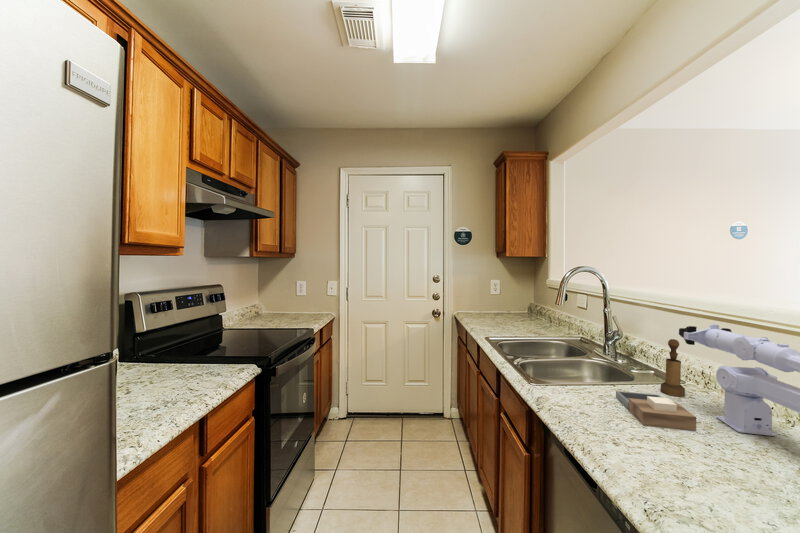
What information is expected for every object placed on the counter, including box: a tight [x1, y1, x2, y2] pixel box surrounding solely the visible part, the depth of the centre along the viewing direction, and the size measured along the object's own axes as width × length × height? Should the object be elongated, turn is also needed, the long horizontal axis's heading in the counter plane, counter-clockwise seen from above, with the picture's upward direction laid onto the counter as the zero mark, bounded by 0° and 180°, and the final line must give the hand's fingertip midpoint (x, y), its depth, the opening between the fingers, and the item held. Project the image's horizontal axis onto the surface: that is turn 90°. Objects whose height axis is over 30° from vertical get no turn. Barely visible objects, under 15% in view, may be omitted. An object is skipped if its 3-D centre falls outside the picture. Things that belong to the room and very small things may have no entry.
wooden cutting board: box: [628, 398, 697, 431], centre depth 97 cm, size 10×12×4 cm
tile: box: [647, 396, 677, 412], centre depth 97 cm, size 5×5×2 cm
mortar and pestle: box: [660, 338, 686, 398], centre depth 118 cm, size 7×6×18 cm
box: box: [615, 390, 663, 410], centre depth 108 cm, size 10×12×2 cm
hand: (693, 332), depth 114 cm, fingers open, 7 cm apart
